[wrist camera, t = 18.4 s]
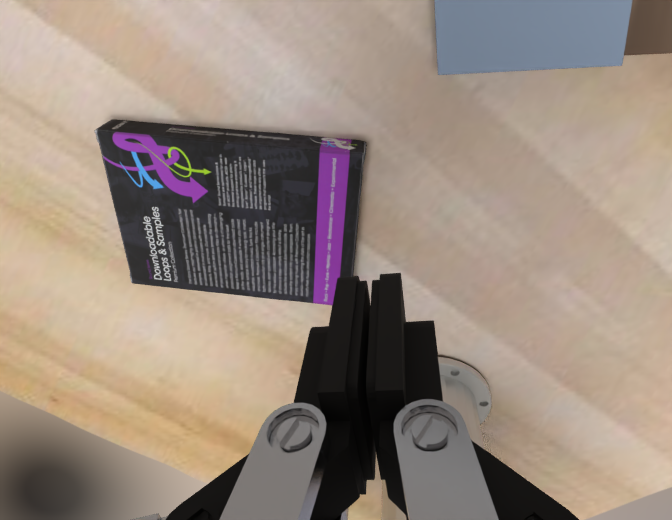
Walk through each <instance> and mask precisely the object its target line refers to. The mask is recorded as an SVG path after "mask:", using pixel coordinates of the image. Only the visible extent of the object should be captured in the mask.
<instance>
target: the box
mask: <svg viewBox="0 0 672 520" xmlns="http://www.w3.org/2000/svg"><path fill="white" fill-rule="evenodd" d="M95 133H96V137H97V141H98V142H99V145H100V149H101V153H102V157H103V162H104V165H105V170H106V174H107V178H108V183H109V187H110V191H111V195H112V199H113V203H114V208H115V211H116V215H117V220H118V224H119V228H120V232H121V236H122V240H123V244H124V249H125V253H126V257H127V261H128V265H129V269H130V278H131V282H132V283H134V284H144V285H152V286H161V287H170V288H179V289H188V290H198V291H206V292H216V293H225V294H234V295H243V296H252V297H261V298H269V299H278V300H289V301H300V302H308V303H318V304H327V305H333V300H334V294H335V288H336V283H337V278H338V277H352V276H353V270H354V260H355V249H356V239H357V228H358V217H359V207H360V196H361V186H362V176H363V165H364V160H365V155H366V146H367V145H366V142H364V141H360V140H349V139H338V138H326V137H315V136H302V135H291V134H280V133H268V132H256V131H243V130H232V129H220V128H208V127H196V126H185V125H172V124H160V123H148V122H137V121H125V120H111V121H109V122H107V123H105V124H103V125H102V126H101V127H99V128H97V129H96V130H95Z"/></svg>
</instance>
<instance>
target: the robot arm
mask: <svg viewBox="0 0 672 520" xmlns="http://www.w3.org/2000/svg"><path fill="white" fill-rule="evenodd" d="M491 405H492V401H491V394H490V390H489V386H488V384H487V382H486V380H485V379H484V378H483V377H482V376H481V374H480V373H479V372H477V371H476V370H475V369H473V368H472V367H470V366H468V365H466V364H464V363H462V362H460V361H456V360H453V359H450V358H444V357H438V353H437V344H436V335H435V327H434V321H416V322H406V319H405V309H404V300H403V290H402V280H401V273H393V274H380V280H373V281H372V293H371V306H370V299H369V292H368V286H367V281H360V280H359V277H358V276H352V277H338V278H337V283H336V288H335V294H334V300H333V305H332V311H331V317H330V323H329V326H326V327H312V328H311V330H310V333H309V337H308V342H307V346H306V351H305V355H304V359H303V364H302V368H301V373H300V377H299V382H298V386H297V390H296V395H295V399H294V403H292V404H288V405H285V406H282V407H281V408H279V409H277V410H275V411H274V412H273V413H272V414H271V415H270V416H268V417H267V419H266V420H265V422H264V423H263V425H262V427H261V429H260V431H259V433H258V436H257V438H256V440H255V442H254V444H253V447H252V449H251V451H250V453H249V454H248V455H247V456H245V457H244V458H243V459H241V460H240V461H239V462H237V463H236V464H234V465H233V466H232V467H230V468H229V469H228V470H226V471H225V472H224V473H222V474H221V475H220V476H218V477H217V478H215V479H214V480H213V481H211V482H210V483H209V484H207V485H206V486H205V487H203V488H202V489H201V490H199V491H198V492H196V493H195V494H194V495H192V496H191V497H190V498H188V499H187V500H186V501H184V502H183V503H182V504H180V505H179V506H178V507H177V508H176V509H175V510H173V511H172V512H171V513H170V514H169V515H168V516H167V517H163V518H161V517H160V515H159V514H154V515H149V516H145V517H140V518H136V519H132V520H348V507H350V506H351V505H352V504H353V503H354V502H355V501H356V500H357V499H358V498H359V497H360V494H366V482H367V480H374V479H375V459H376V454H377V460H378V465H379V471H380V476H381V480H382V516H381V520H579V519H578V518H577V517H576V516H574V515H573V514H572V513H571V512H570V511H569V510H568V509H566V508H565V507H563V506H562V505H561V504H559V503H558V502H557V501H555V500H554V499H552V498H551V497H550V496H548V495H547V494H545V493H544V492H543V491H541V490H540V489H539V488H537V487H536V486H534V485H533V484H532V483H530V482H529V481H527V480H526V479H525V478H523V477H522V476H520V475H519V474H518V473H516V472H515V471H514V470H512V469H511V468H509V467H508V466H507V465H505V464H504V463H502V462H501V461H500V460H498V459H497V458H495V457H494V456H493V455H491V454H490V453H489V452H487V451H486V450H485V447H484V441H483V436H482V431H481V424H482V423H483V422H484V420H485V419H486V418H487V416H488V414H489V413H490V409H491Z"/></svg>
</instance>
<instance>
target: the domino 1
mask: <svg viewBox="0 0 672 520" xmlns="http://www.w3.org/2000/svg"><path fill="white" fill-rule="evenodd" d="M632 1H633V0H435V21H436V41H437V62H438V75H448V74H467V73H487V72H506V71H526V70H545V69H564V68H584V67H603V66H622V63H623V57H624V51H625V45H626V38H627V32H628V26H629V20H630V13H631V7H632Z"/></svg>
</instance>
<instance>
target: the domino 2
mask: <svg viewBox="0 0 672 520" xmlns="http://www.w3.org/2000/svg"><path fill="white" fill-rule="evenodd" d="M664 53H672V0H633V1H632V7H631V13H630V20H629V26H628V32H627V38H626V45H625V51H624V55H641V54H664Z"/></svg>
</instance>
